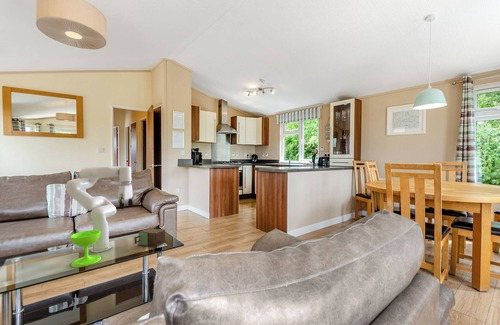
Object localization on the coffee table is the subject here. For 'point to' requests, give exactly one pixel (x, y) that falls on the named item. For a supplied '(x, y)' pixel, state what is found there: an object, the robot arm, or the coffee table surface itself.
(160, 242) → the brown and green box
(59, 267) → the coffee table surface
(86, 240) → the wineglass
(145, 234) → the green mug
